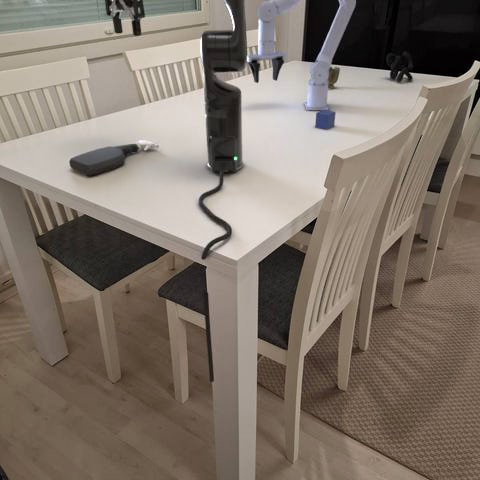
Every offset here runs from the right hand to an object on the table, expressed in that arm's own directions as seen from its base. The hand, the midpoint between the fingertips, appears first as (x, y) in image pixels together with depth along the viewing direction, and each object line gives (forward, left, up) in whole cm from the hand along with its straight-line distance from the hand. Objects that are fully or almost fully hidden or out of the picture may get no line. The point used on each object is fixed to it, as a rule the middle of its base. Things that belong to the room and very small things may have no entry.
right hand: (265, 81), depth 162 cm
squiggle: (-41, +61, -9) cm, 74 cm away
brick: (+24, +19, -9) cm, 32 cm away
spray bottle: (+52, -43, -9) cm, 68 cm away
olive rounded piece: (-28, +28, -9) cm, 41 cm away
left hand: (+34, -40, +20) cm, 56 cm away
